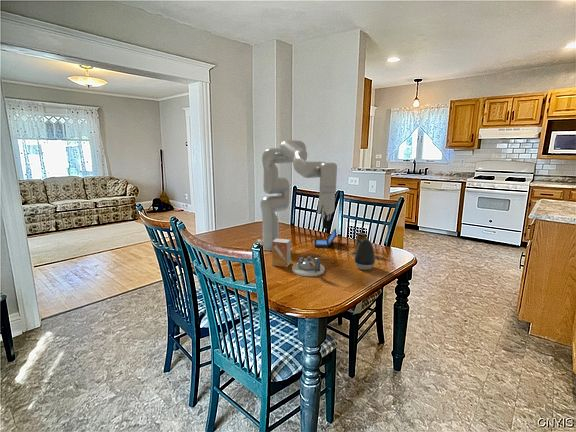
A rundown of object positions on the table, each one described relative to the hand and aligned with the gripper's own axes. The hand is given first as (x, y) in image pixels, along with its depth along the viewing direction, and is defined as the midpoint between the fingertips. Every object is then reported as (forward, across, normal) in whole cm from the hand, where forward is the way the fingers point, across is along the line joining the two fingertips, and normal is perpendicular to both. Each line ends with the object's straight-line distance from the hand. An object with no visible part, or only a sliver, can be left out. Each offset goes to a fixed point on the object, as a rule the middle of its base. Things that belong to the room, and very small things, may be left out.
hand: (326, 228), depth 150 cm
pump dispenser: (+22, -15, +15) cm, 31 cm away
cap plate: (+22, +2, -8) cm, 24 cm away
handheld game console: (+23, -44, -18) cm, 53 cm away
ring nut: (+20, +4, -6) cm, 21 cm away
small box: (+22, +1, -24) cm, 33 cm away
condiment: (+22, -36, +7) cm, 43 cm away
